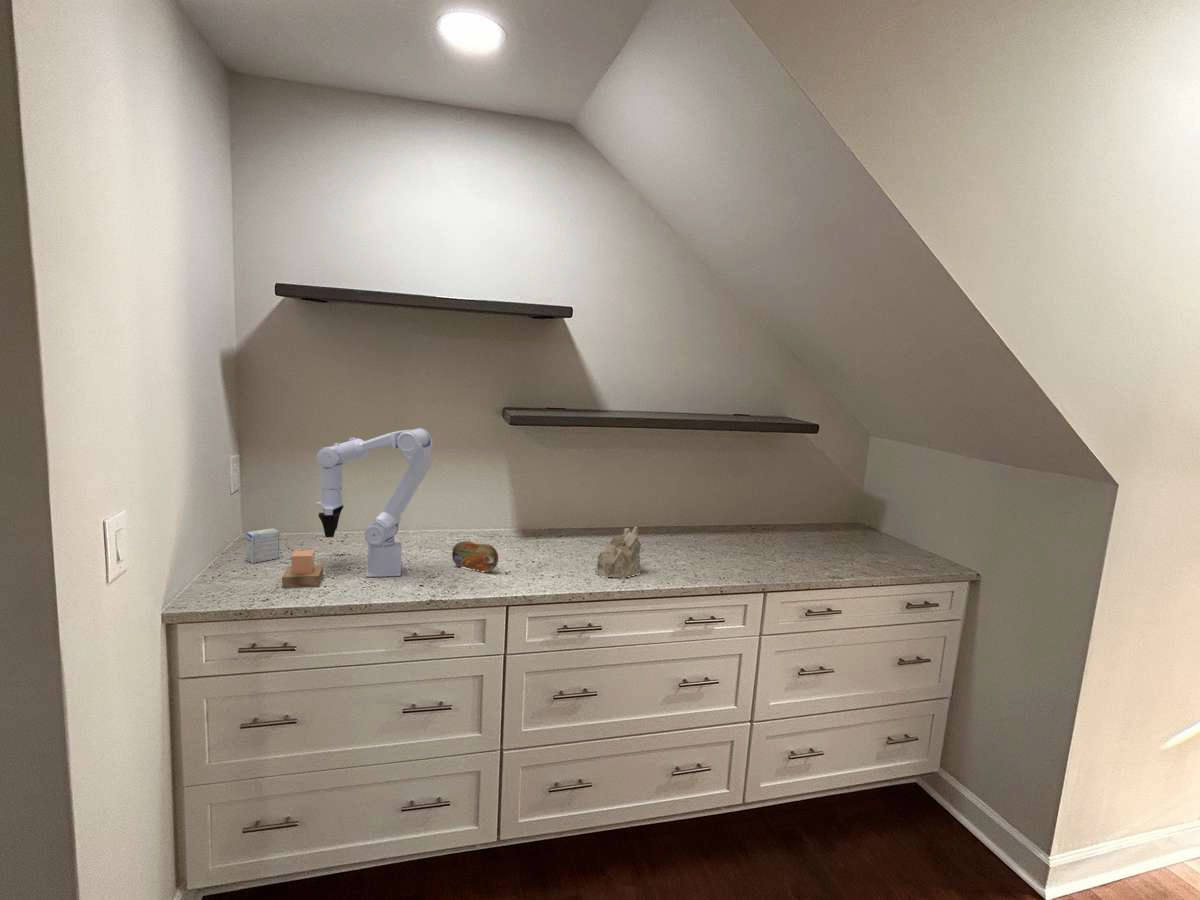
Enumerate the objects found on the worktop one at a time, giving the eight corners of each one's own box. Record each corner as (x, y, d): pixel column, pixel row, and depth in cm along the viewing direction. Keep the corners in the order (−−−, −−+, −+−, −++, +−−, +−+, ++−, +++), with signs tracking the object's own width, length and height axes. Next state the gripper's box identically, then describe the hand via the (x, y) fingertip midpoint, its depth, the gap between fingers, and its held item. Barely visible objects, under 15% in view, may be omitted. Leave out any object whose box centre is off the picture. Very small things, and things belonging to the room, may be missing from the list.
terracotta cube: (314, 567, 176) (314, 550, 175) (311, 573, 171) (311, 555, 170) (294, 568, 174) (294, 550, 174) (291, 574, 169) (291, 556, 169)
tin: (451, 566, 193) (451, 540, 192) (457, 563, 196) (457, 537, 195) (493, 575, 187) (494, 547, 186) (499, 572, 190) (500, 545, 189)
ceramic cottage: (628, 559, 210) (629, 516, 207) (649, 578, 195) (650, 531, 192) (584, 565, 205) (584, 520, 202) (601, 584, 189) (602, 536, 186)
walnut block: (323, 575, 179) (323, 565, 178) (318, 586, 170) (318, 575, 170) (288, 576, 176) (288, 566, 176) (282, 588, 167) (282, 577, 167)
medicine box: (273, 555, 193) (273, 527, 192) (280, 558, 190) (279, 530, 189) (245, 560, 187) (245, 532, 186) (252, 564, 184) (251, 535, 183)
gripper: (319, 482, 188) (319, 526, 189) (312, 492, 174) (312, 540, 176) (345, 482, 190) (344, 526, 192) (340, 493, 176) (339, 540, 178)
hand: (331, 533), depth 184 cm, fingers open, 7 cm apart
